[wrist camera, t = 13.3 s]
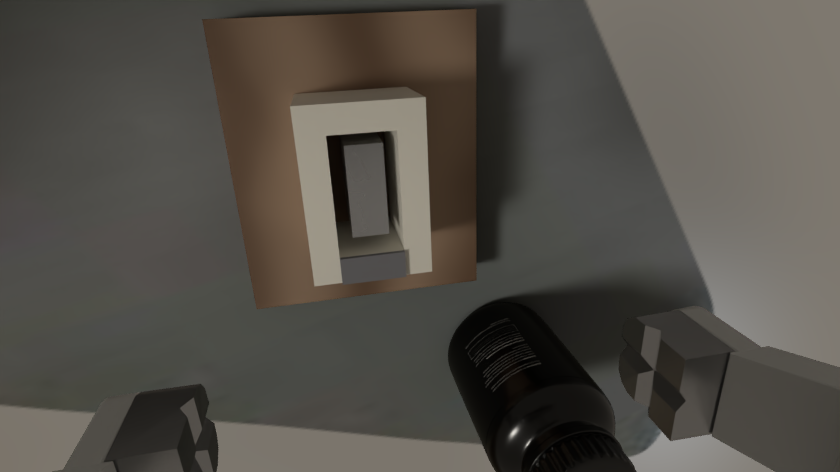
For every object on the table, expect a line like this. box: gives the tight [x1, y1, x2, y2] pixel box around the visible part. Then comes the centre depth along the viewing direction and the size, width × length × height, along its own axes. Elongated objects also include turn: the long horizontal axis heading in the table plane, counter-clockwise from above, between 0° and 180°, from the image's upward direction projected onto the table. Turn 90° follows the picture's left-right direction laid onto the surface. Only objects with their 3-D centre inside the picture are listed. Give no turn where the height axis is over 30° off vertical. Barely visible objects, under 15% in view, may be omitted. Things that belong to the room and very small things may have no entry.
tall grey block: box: [339, 132, 389, 238], centre depth 23 cm, size 2×4×4 cm, turn 2°
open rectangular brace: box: [290, 87, 432, 286], centre depth 23 cm, size 8×5×5 cm
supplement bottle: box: [448, 302, 636, 472], centre depth 27 cm, size 7×7×12 cm
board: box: [202, 9, 476, 309], centre depth 26 cm, size 12×14×2 cm
